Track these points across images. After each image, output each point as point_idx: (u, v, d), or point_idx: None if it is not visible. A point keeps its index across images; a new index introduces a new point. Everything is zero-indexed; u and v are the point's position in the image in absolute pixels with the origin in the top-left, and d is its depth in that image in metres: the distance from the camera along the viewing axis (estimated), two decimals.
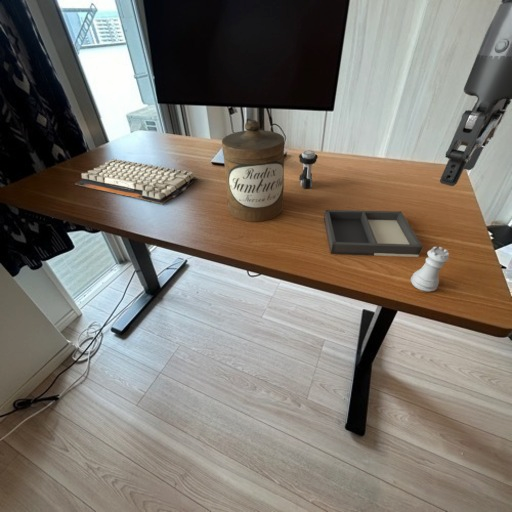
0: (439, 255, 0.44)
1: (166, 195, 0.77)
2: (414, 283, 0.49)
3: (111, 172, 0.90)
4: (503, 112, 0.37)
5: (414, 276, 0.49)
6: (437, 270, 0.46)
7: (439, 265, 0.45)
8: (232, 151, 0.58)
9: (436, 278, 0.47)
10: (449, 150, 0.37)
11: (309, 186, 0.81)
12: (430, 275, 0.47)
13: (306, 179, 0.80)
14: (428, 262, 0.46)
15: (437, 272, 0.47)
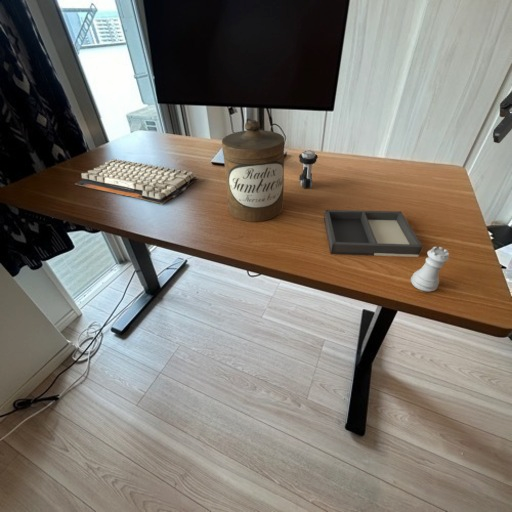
0: (439, 255, 0.44)
1: (166, 195, 0.77)
2: (414, 283, 0.49)
3: (111, 172, 0.90)
4: None
5: (414, 276, 0.49)
6: (437, 270, 0.46)
7: (439, 265, 0.45)
8: (232, 151, 0.58)
9: (436, 278, 0.47)
10: None
11: (309, 186, 0.81)
12: (430, 275, 0.47)
13: (306, 179, 0.80)
14: (428, 262, 0.46)
15: (437, 272, 0.47)
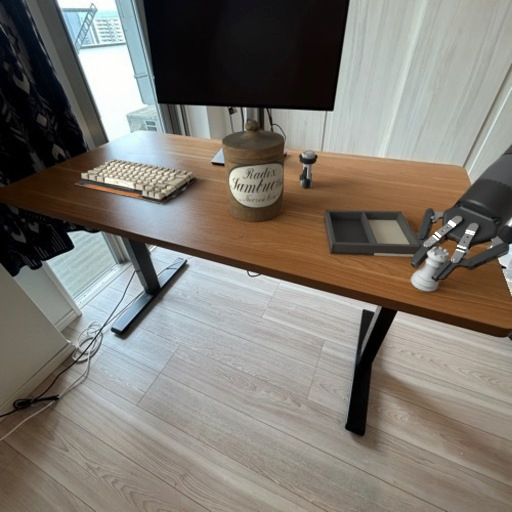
0: (439, 255, 0.44)
1: (166, 195, 0.77)
2: (414, 283, 0.49)
3: (111, 172, 0.90)
4: (475, 223, 0.43)
5: (414, 276, 0.49)
6: None
7: (439, 265, 0.45)
8: (232, 151, 0.58)
9: None
10: None
11: (309, 186, 0.81)
12: (429, 275, 0.47)
13: (306, 179, 0.80)
14: (428, 262, 0.46)
15: None
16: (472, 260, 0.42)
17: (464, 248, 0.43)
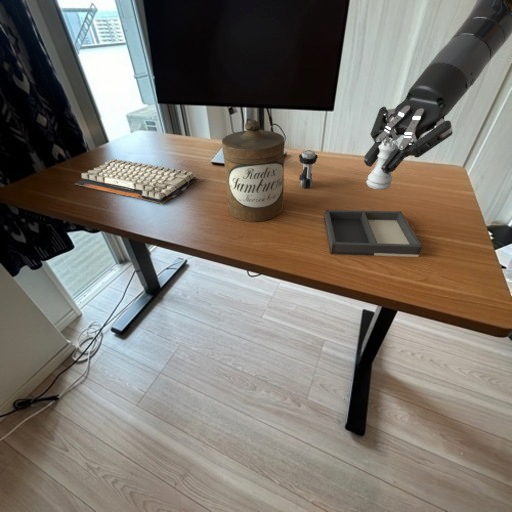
0: (388, 144, 0.45)
1: (166, 195, 0.77)
2: (369, 183, 0.50)
3: (111, 172, 0.90)
4: (421, 109, 0.44)
5: (368, 176, 0.50)
6: None
7: None
8: (232, 151, 0.58)
9: None
10: None
11: (309, 186, 0.81)
12: (381, 170, 0.48)
13: (306, 179, 0.80)
14: (379, 155, 0.47)
15: None
16: (417, 143, 0.43)
17: (410, 133, 0.44)
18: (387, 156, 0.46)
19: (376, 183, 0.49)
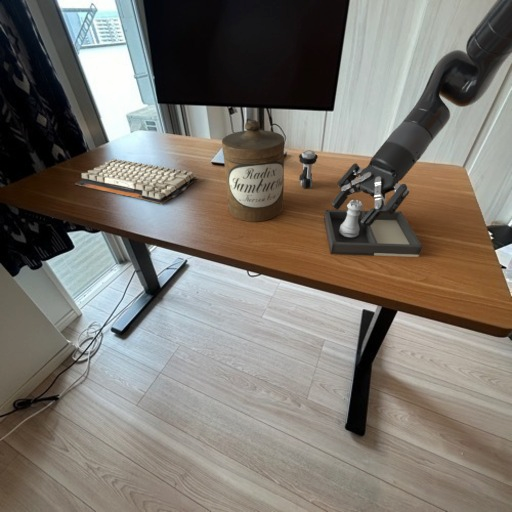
0: (354, 205, 0.56)
1: (166, 195, 0.77)
2: (341, 232, 0.62)
3: (111, 172, 0.90)
4: (378, 177, 0.55)
5: (341, 226, 0.61)
6: (355, 218, 0.58)
7: (355, 214, 0.58)
8: (232, 151, 0.58)
9: (356, 226, 0.59)
10: None
11: (309, 186, 0.81)
12: (350, 223, 0.59)
13: (306, 179, 0.80)
14: (348, 212, 0.58)
15: (355, 220, 0.59)
16: (388, 205, 0.52)
17: (379, 195, 0.53)
18: (354, 213, 0.58)
19: (346, 233, 0.60)
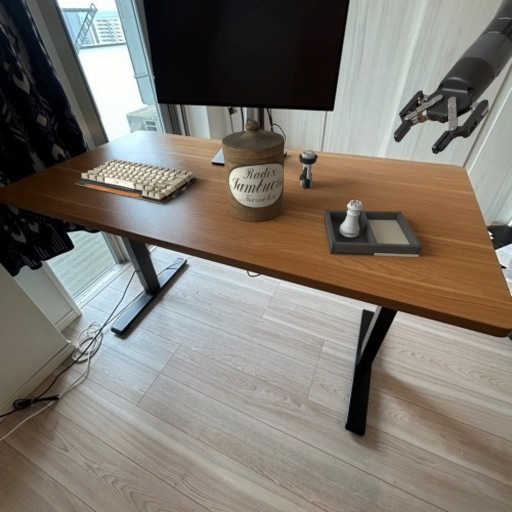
0: (354, 205, 0.56)
1: (166, 195, 0.77)
2: (341, 232, 0.62)
3: (111, 172, 0.90)
4: None
5: (341, 226, 0.61)
6: (355, 218, 0.58)
7: (355, 214, 0.58)
8: (232, 151, 0.58)
9: (356, 226, 0.59)
10: None
11: (309, 186, 0.81)
12: (350, 223, 0.59)
13: (306, 179, 0.80)
14: (348, 212, 0.58)
15: (355, 220, 0.59)
16: (466, 124, 0.48)
17: (455, 116, 0.49)
18: (354, 213, 0.58)
19: (346, 233, 0.60)
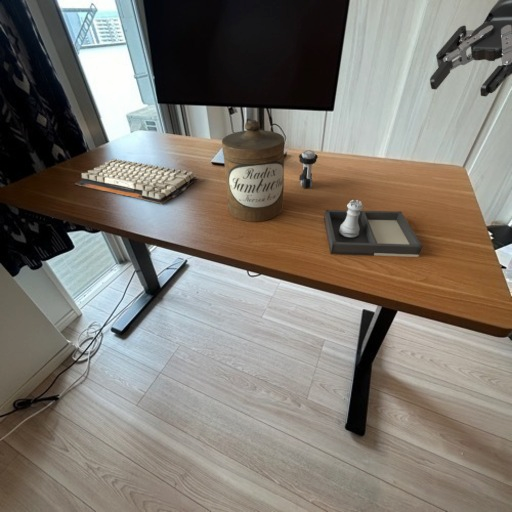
0: (354, 205, 0.56)
1: (166, 195, 0.77)
2: (341, 232, 0.62)
3: (111, 172, 0.90)
4: (505, 26, 0.42)
5: (341, 226, 0.61)
6: (355, 218, 0.58)
7: (355, 214, 0.58)
8: (232, 151, 0.58)
9: (356, 226, 0.59)
10: None
11: (309, 186, 0.81)
12: (350, 223, 0.59)
13: (306, 179, 0.80)
14: (348, 212, 0.58)
15: (355, 220, 0.59)
16: None
17: (511, 46, 0.40)
18: (354, 213, 0.58)
19: (346, 233, 0.60)
